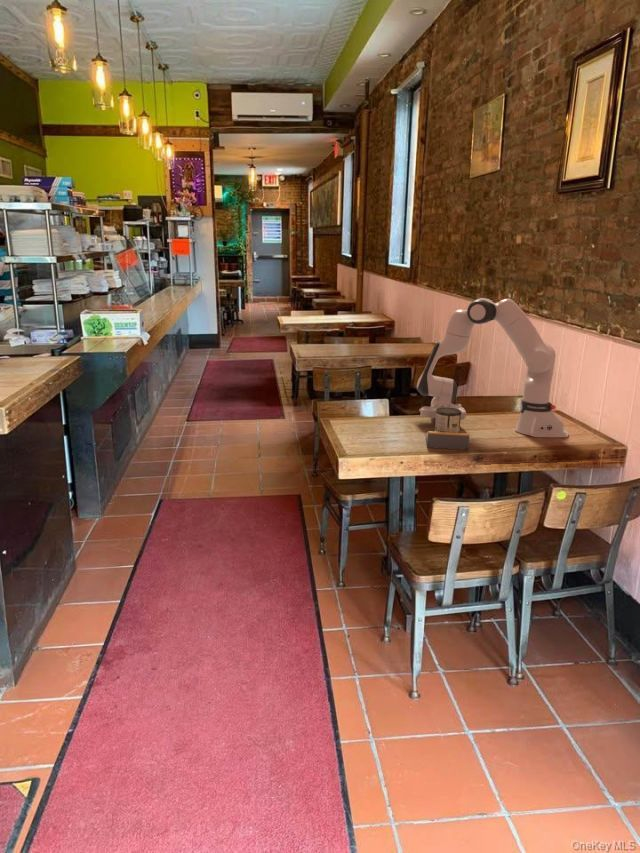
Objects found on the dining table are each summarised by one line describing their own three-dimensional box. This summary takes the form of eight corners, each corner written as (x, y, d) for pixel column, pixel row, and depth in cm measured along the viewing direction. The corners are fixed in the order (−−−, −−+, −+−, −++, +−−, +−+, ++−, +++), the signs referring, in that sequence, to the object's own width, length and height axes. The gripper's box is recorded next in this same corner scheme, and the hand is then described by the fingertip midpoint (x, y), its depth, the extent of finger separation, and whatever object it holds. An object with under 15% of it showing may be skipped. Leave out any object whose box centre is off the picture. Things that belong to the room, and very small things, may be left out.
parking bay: (464, 440, 265) (466, 425, 263) (468, 450, 252) (469, 434, 250) (425, 438, 267) (426, 423, 265) (426, 447, 254) (428, 432, 252)
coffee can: (441, 437, 268) (444, 406, 264) (463, 443, 262) (466, 410, 258) (428, 442, 261) (431, 410, 257) (450, 448, 254) (453, 414, 250)
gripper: (419, 402, 289) (420, 409, 276) (464, 404, 287) (467, 411, 274) (418, 415, 291) (419, 422, 278) (463, 417, 289) (466, 425, 276)
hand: (444, 417), depth 276 cm, fingers closed
